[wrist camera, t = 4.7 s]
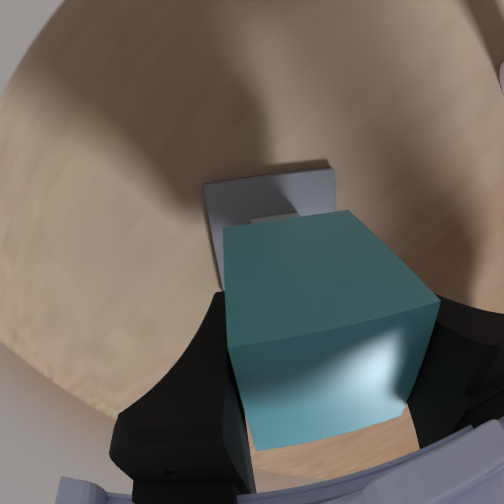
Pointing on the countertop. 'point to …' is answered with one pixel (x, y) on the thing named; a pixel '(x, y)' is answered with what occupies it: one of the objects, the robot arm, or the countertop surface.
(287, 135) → the countertop surface
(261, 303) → the teal foam brick
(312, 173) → the grey square base plate
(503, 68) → the smoothie
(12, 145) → the countertop surface
